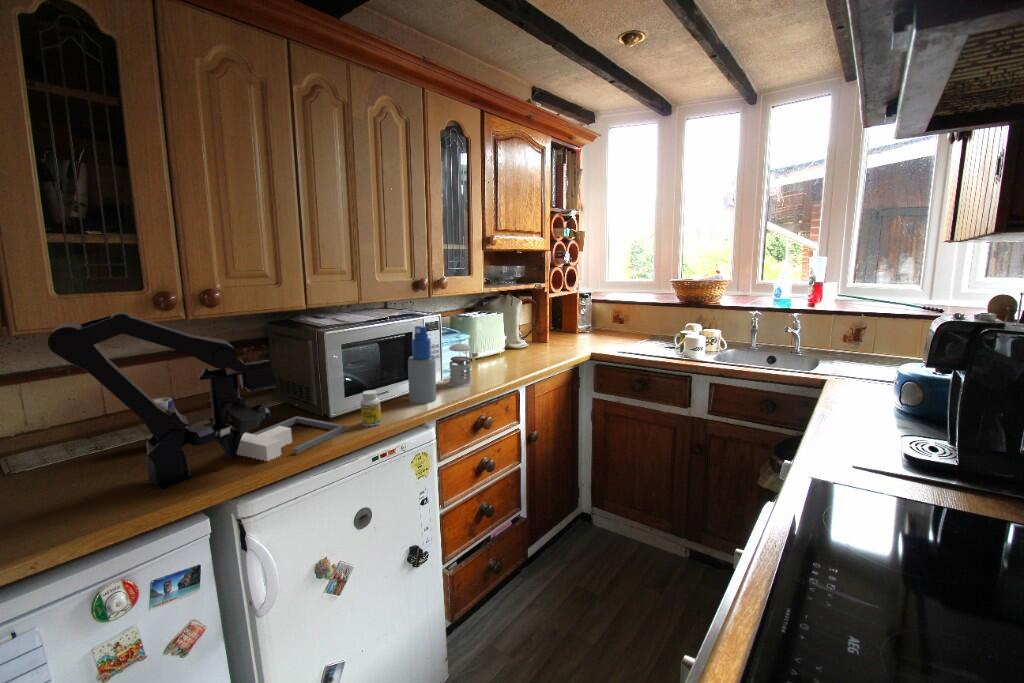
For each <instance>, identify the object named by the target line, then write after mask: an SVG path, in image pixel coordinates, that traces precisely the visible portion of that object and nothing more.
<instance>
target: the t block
mask: <svg viewBox="0 0 1024 683" xmlns="http://www.w3.org/2000/svg"><path fill="white" fill-rule="evenodd" d="M292 443H293V436H292V428H291V427H289V426H288V427H283V426H278V427H275V428H273V429H270V430H268V431H266V432H263V433H261V434H258V435H254V434H253V433H250V432H246V433H244V434H243V436H242V438H241V440H240V443H239V447H238V450H237V454H236V455H238V456H242V457H246V456H247V457H246V458H250V457H252V458H251V459H254V458H256V459H255V460H258V459H260V460H259V461H262V460H264V461H263V462H266V461H269V460H271V459H273V460H275V459H277V458H279V457H281V456H282V448H283V447H286V446H287V444H288V445H290V444H292ZM285 445H286V446H285ZM280 455H281V456H280ZM278 456H279V457H278ZM276 457H277V458H276ZM274 458H275V459H274ZM271 461H272V460H271ZM269 462H270V461H269Z"/></svg>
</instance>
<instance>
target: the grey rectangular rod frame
mask: <svg viewBox="0 0 1024 683" xmlns="http://www.w3.org/2000/svg"><path fill="white" fill-rule="evenodd" d="M295 423H296V424H299V423H301V424H300V425H304V424H305V426H309V425H310V426H311V427H316V428H320V429H325V430H329V431H327V432H325V433H322V434H320V435H318V436H317V437H314V438H312V439H310V440H308V441H305V442H303V443H302V444H299V445H297V446H295V447H293V448H292V450H293V454H294V453H299V452H301V451H303V450H305V449H307V448H309V447H312V446H314V445H316V446H318V445H320V444H322V443H324V442H326V441H328V440H330V439H332V438H334V437H333V436H335V435H337V434H339V435H340V433H341V434H342V432H343V433H345V432H346V431H347V426H346V425H344V424H339V423H334V422H328V421H323V420H318V419H313V418H307V417H303V416H297V415H295V416H294V417H292V418H289V419H285V420H284V421H281V422H279V423H275V424H274V425H271V426H268V427H266V428H263V429H261V430H258V431H255V432H254V433H252V434H254V435H258V434H261V433H263V432H266V431H268V430H270V429H273V428H275V427H278V426H283V427H288V428H289V427H291V426H294V425H295ZM344 431H345V432H344ZM337 436H338V435H337ZM331 437H332V438H331ZM335 437H336V436H335ZM329 438H330V439H329ZM327 439H328V440H327ZM325 440H326V441H325ZM323 441H324V442H323ZM321 442H322V443H321ZM319 443H320V444H319ZM317 444H318V445H317ZM314 447H315V446H314ZM312 448H313V447H312Z"/></svg>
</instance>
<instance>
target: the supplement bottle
mask: <svg viewBox="0 0 1024 683" xmlns="http://www.w3.org/2000/svg"><path fill="white" fill-rule="evenodd" d="M362 397H363V398H362V399H361V400H360V408H361V409H360V411H361V424H362V426H364V427H368V426H372V427H375V426H374V425H377V426H379V425H380V424H381V423H382V415H381V400H380V398H379V397H378V392H377V390H376V389H375V390H373V389H372V390H371V389H370V390H364V391H362ZM378 424H379V425H378Z"/></svg>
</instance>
